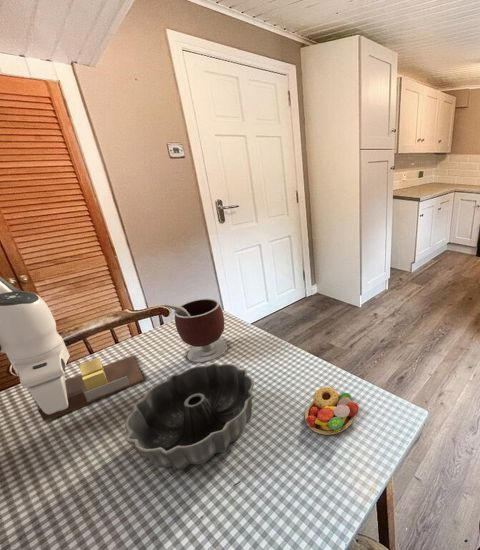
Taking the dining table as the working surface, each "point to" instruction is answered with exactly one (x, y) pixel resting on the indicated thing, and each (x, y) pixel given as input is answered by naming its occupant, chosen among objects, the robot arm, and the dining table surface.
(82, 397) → the knife
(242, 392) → the bundt pan
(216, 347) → the mate gourd
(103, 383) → the butter pat
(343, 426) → the toy food set
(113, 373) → the butter board
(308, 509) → the dining table surface
